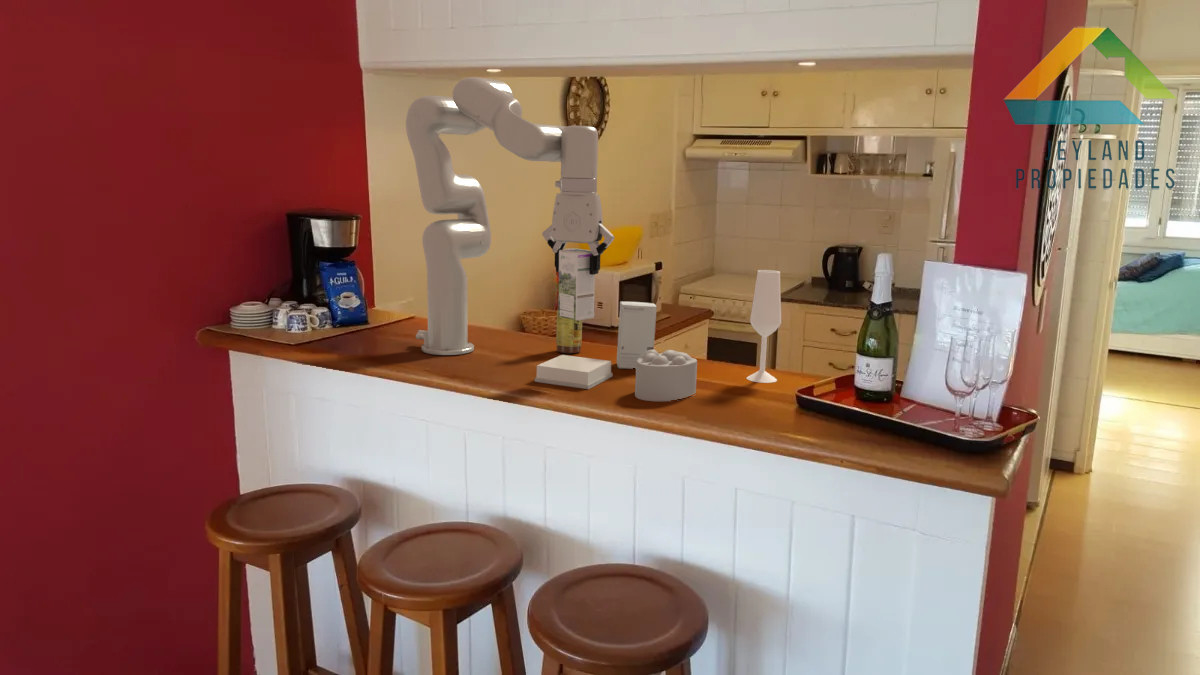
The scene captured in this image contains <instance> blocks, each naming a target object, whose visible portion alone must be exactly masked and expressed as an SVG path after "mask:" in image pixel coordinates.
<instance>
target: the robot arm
mask: <svg viewBox="0 0 1200 675" xmlns="http://www.w3.org/2000/svg"><path fill="white" fill-rule="evenodd" d="M522 109H523V108H522V105H521V102H520V101H519V100H518V99H516V98H514V94H513V91H512V89H511V88H510V86H509V85H508V84H507V83H506V82H504V81H502V80H499V79H493V78H486V77H485V78H484V77H478V76H468V77H465V78H462V79H460V80H459V81H458V82H456V84H455V85H454V87H453V90H452V97H451V96H445V95H425V96H421V97H418V98H417V99H415V100H414V101H413V102H412V103H411V104H410V105H409V108H408V110H407V113H406V117H405V131H406V135H407V140H408V142H409V145H410V149H411V151H412V155H413V158H414V162H415V163H414V164H415V170H416V175H417V181H418V187H419V191H420V192H419V193H420V197H421V198H420V199H421V201H422V202H421V203H422V205H423V207H424V210H426V211H427V212H428V213H430V214H433V215H441V216H443V215H445V216H446V215H456V216H457V218H458V219H457V218H456V219H455V218H454V219H441V220H436V221H433V222H431V223H430V224H428V225H427V226H426V227H425V229H424V231H423V233H422V239H421V241H422V243H421V244H422V248H423V253H424V257H425V264H426V284H427V285H426V287H427V288H426V289H427V330H422V329H418V330H417V332H416V335H415V339H417V340H423V342H424V343H423V344H421V351H422V352H423V353H425V354H429V355H437V356H457V355H466V354H469V353H472V352H473V351H474V350H475V345H474V344H473V343H472V342H468V276H467V272H466V270H465V268H464V266H463V263H462V262H461V260H463V259H472V258H473V259H474V258H475V259H476V258H479V257H482V256H484V255H486V254H487V253H488V251H489V250H490V248H491V245H492V232H491V231H492V230H491V224H490V218H489V212H488V207H487V201H486V196H485V192H484V189H483V187H482V185H481V183H480V182H479V181H478V179H476V178H475V177H474V176H472V175H468V174H459V173H458V174H456V173H455V171H454V168H453V162H452V156H451V153H450V151H449V149H448V147H447V146H446V145H447V144H445V143H444V141H443V140H442V138H440V134H441V135H442V134H443V135H457V136H458V135H459V136H460V135H461V136H467V135H474V134H475V133H478V132H480V131H482V130H484V129H489V130H490V131H492V132H493V134H494V137H495V138H496V141H497V142H498V144H499V145H500V146H502V148H504V149H506V150H507V151H508V152H510V153H511V154H514V155H515V156H517V157H519V158H520V159H523V160H526V161H530V162H550V163H560V178H559V180H555V183H554V187H555V188H559V191H560V193H558V192H557V193H556V195H555V200H554V204H553V205H554V206H553V210H552V211H553V212H552V220H551V224H550V226H548V227H547V228H546V229H544V231H542V232H541V234H542V237H543V238H544V239H545V241H546V242H547V245H548V246H549V247H550V248H551V249H552V252H553V253H554V267H555V272H557V273H559V250H563V249H565V247H566V245H567V244H568V243H575V244H587V245H588V247H589V250H591V252H592V255H591V256H590V269H589V273H590V274H591V275H594V274H595V275H598V274H599V272H600V270H601V255H602V254H603V253H604V252H605V251H606V250H607V249H608V248H609V246H610V245H611V244H612V243H613V241H614V240H615V236H614V235H613V233H611V231H609V230H608V228H606V227H605V226H604V225H603V224H604V223H603V222H604V219H603V210H602V209H603V208H602V201H601V197H600V196H601V195H600V194H598V192H597V191H598V159H599V158H598V157H599V156H598V152H599V133H598V130H597V128H596V127H593V126H590V125H568V126H565V125H554V124H542V123H533V122H530V121H529V120H526V119H524V118H522V116H523V110H522ZM603 237H604V240H603V241H602V239H603ZM600 241H602V243H600Z"/></svg>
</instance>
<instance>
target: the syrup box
mask: <svg viewBox="0 0 1200 675" xmlns="http://www.w3.org/2000/svg"><path fill="white" fill-rule="evenodd" d="M591 255H592V252H591V249H582V248H564V249H563V250H559V272H558V297H559V310H558V316H559V317H563V318H567V319H572V320H582V321H585V320H590V319H591V320H592V319H594V318H595V297H596V296H595V294H596V293H595V291H596V290H595V287H596V283H595V282H596V281H595V280H596V274H594V275H591V274H590V273H589V269H590V256H591Z"/></svg>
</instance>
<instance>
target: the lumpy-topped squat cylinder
mask: <svg viewBox="0 0 1200 675" xmlns="http://www.w3.org/2000/svg"><path fill="white" fill-rule="evenodd" d="M697 372H698V360H697V359H696V358H693V357H691V355H689V354H688V353H686V352H682V351H676V350H673V349H666V350H665V351H663V352H660V353H659V352H658V351H657V350H656V349H654V350H653V349H651V350H648V351H646V352H645V354H644V356H641V357H640V358H639V359H638V360H637V361H636V369H635V382H634V383H635V384H634V385H635V386H634V396H635V398H637V399H639V400H642V401H646V402H647V401H648V402H649V401H650V402H672V401H671V400H677V399H682V398H685V397H688V396H691V395H693V394H695V393H696V392H697V390H696V389H697V378H698V377H697V374H698V373H697ZM696 394H697V393H696ZM696 394H695V395H696ZM682 400H683V399H682ZM677 401H678V400H677Z"/></svg>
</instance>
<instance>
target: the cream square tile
mask: <svg viewBox="0 0 1200 675" xmlns="http://www.w3.org/2000/svg"><path fill="white" fill-rule="evenodd" d="M613 376H614V375H613V372H612V361H611V360H605V359H597V358H590V357H589V358H588V357H581V356H575V355H574V356H573V355H568V354H567V355H566V354H561V355H558V356H556V357H554V358H551V359H549V360H547V361H544V362H541V363H540V364H538V365H536V377H534V382H536V383H541V384H548V385H549V384H550V385H557V386H563V387H571V388H577V389H583V390H585V389H586V390H590V389H592V388H593V387H595V386H597V385H599V384H601V383H603V382H605V381H607V380H609V379H610V378H613Z"/></svg>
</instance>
